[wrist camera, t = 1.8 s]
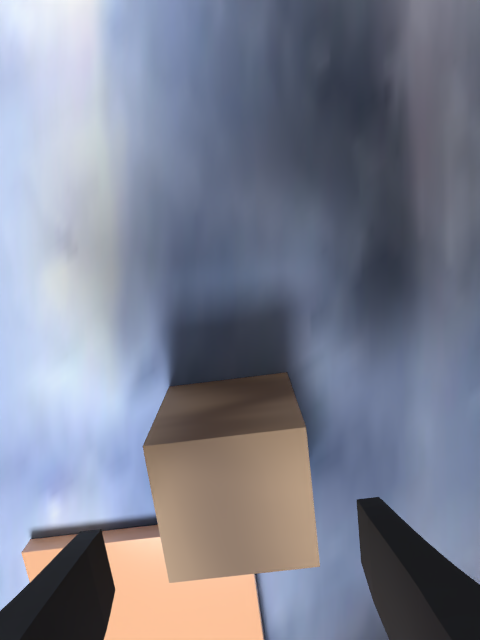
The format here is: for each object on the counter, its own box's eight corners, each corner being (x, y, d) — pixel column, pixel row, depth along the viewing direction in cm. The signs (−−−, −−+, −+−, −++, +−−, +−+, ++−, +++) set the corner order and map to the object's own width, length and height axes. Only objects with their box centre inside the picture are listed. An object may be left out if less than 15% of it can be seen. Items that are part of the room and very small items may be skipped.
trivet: (246, 514, 19) (247, 527, 18) (271, 686, 21) (272, 704, 20) (30, 539, 19) (21, 552, 18) (76, 707, 21) (70, 725, 20)
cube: (286, 371, 17) (306, 427, 12) (298, 476, 18) (320, 566, 13) (169, 385, 17) (142, 446, 12) (187, 489, 18) (169, 583, 14)
